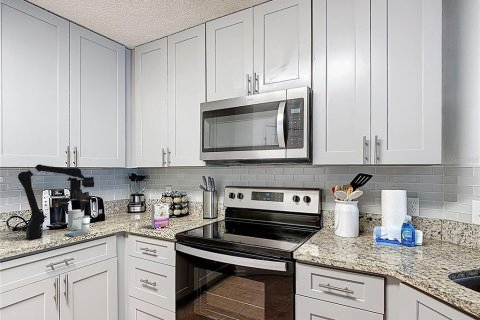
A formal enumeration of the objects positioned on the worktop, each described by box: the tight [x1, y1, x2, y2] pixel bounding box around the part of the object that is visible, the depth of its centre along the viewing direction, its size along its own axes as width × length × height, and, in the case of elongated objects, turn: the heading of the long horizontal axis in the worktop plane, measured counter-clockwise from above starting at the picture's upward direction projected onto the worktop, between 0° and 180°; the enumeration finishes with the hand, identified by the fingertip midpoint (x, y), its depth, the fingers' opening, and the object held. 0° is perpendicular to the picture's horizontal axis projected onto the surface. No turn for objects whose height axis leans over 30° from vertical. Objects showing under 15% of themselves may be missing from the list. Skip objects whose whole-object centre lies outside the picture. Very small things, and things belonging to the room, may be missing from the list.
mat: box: [64, 230, 89, 238], centre depth 167 cm, size 9×9×1 cm
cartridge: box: [80, 215, 91, 233], centre depth 177 cm, size 5×5×10 cm
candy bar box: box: [151, 203, 170, 229], centre depth 189 cm, size 11×5×16 cm, turn 129°
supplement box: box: [67, 209, 85, 232], centre depth 184 cm, size 7×7×13 cm
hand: (74, 212), depth 170 cm, fingers open, 9 cm apart
